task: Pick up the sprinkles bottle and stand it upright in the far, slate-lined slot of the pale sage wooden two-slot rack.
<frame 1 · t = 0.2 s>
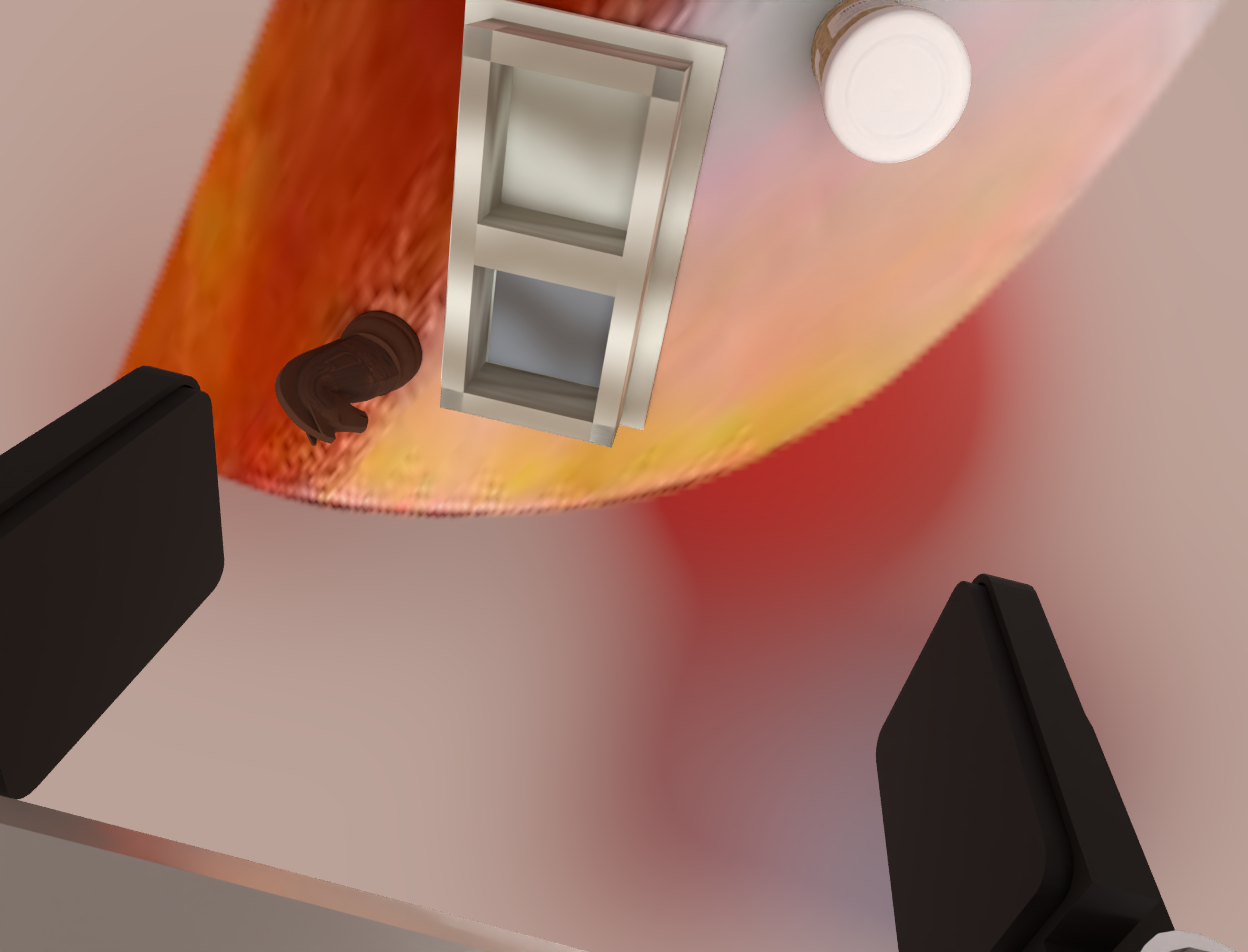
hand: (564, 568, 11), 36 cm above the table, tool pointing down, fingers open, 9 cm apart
sprinkles bottle: (863, 49, 38), on the table
slot rack: (569, 231, 45), on the table
chess piece: (382, 343, 50), on the table
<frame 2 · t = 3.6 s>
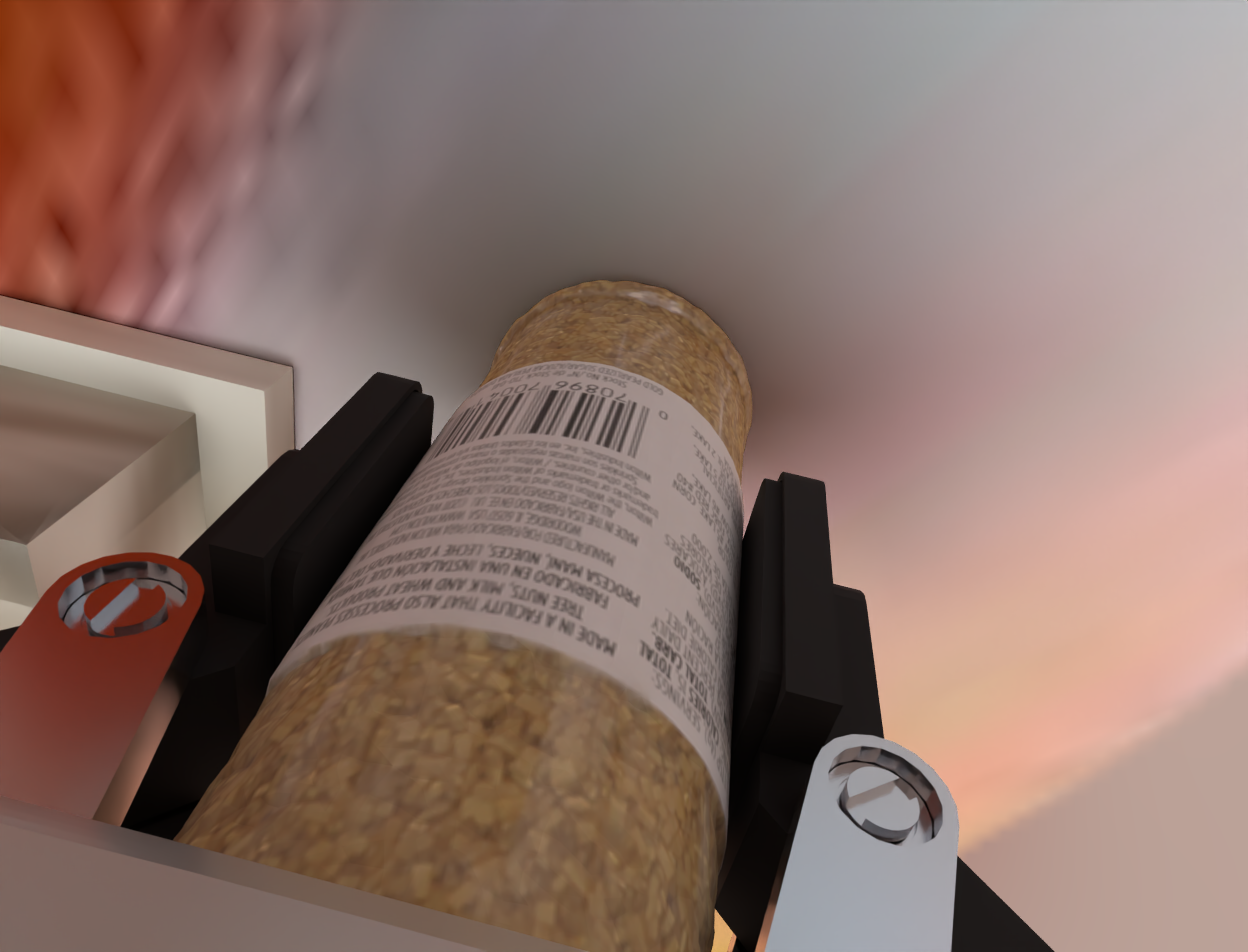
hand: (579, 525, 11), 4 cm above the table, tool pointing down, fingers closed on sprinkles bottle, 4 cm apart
sprinkles bottle: (626, 393, 15), on the table, touching gripper
slot rack: (66, 673, 21), on the table
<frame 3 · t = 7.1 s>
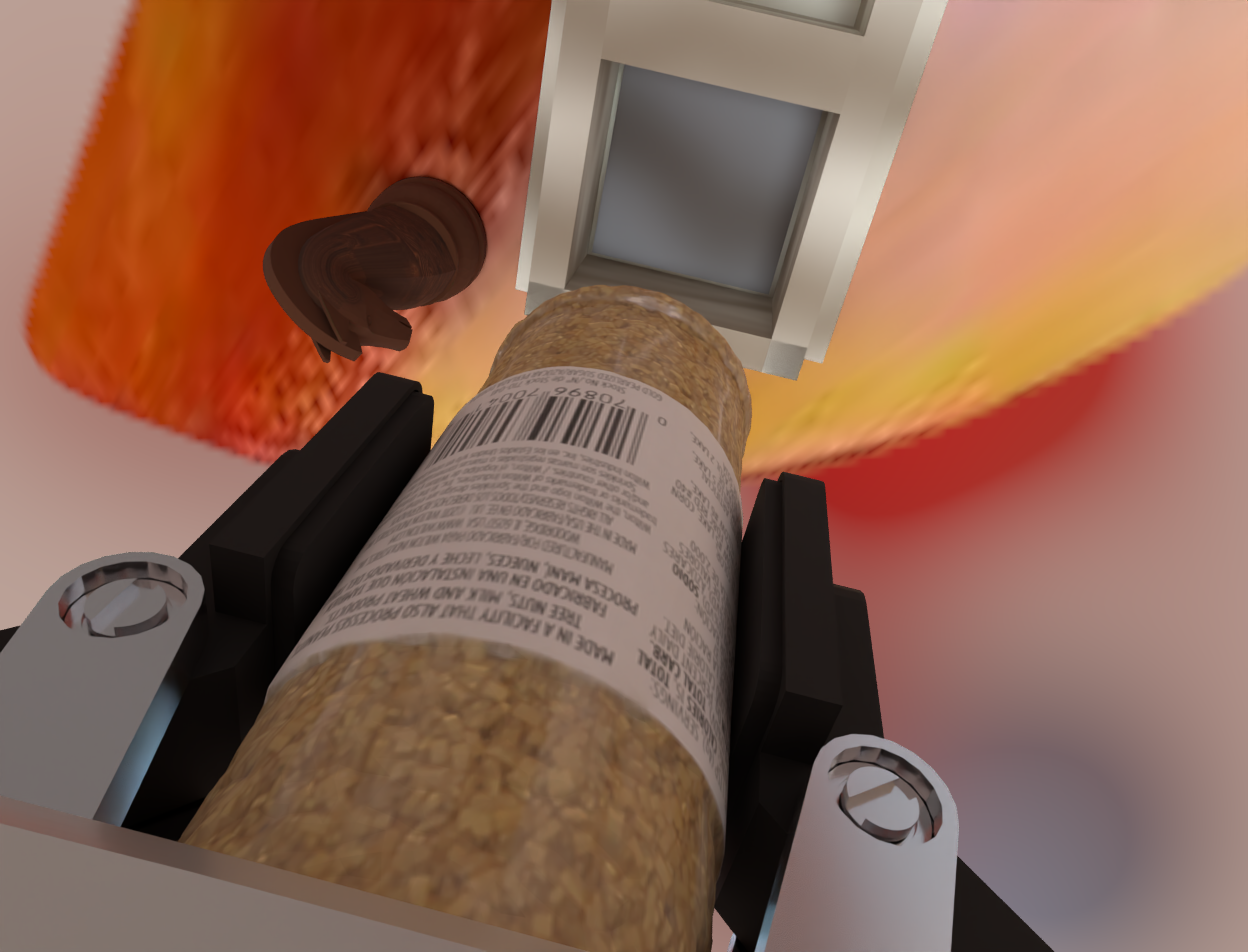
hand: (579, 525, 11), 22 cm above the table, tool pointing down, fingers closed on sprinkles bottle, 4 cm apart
sprinkles bottle: (625, 397, 15), point 18 cm above the table, touching gripper
slot rack: (736, 34, 28), on the table
chess piece: (427, 230, 33), on the table
when the fingers open (7 cm above the table, at t = 10.6 s): sprinkles bottle drops 1 cm, resting on slot rack.
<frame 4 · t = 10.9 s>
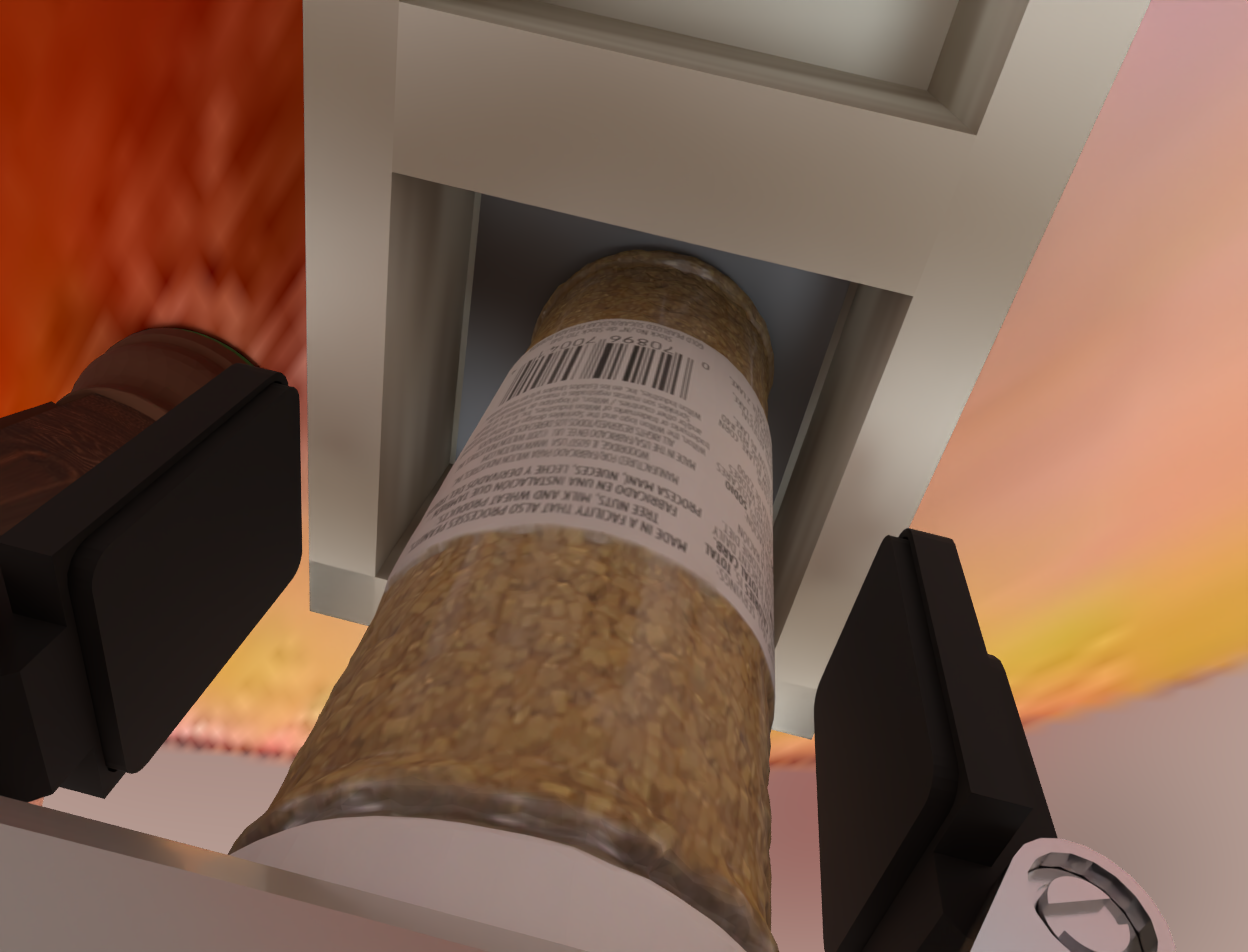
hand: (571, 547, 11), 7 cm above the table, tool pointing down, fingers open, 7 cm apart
sprinkles bottle: (656, 355, 16), point 1 cm above the table, touching slot rack
slot rack: (699, 98, 15), on the table
chess piece: (197, 406, 20), on the table
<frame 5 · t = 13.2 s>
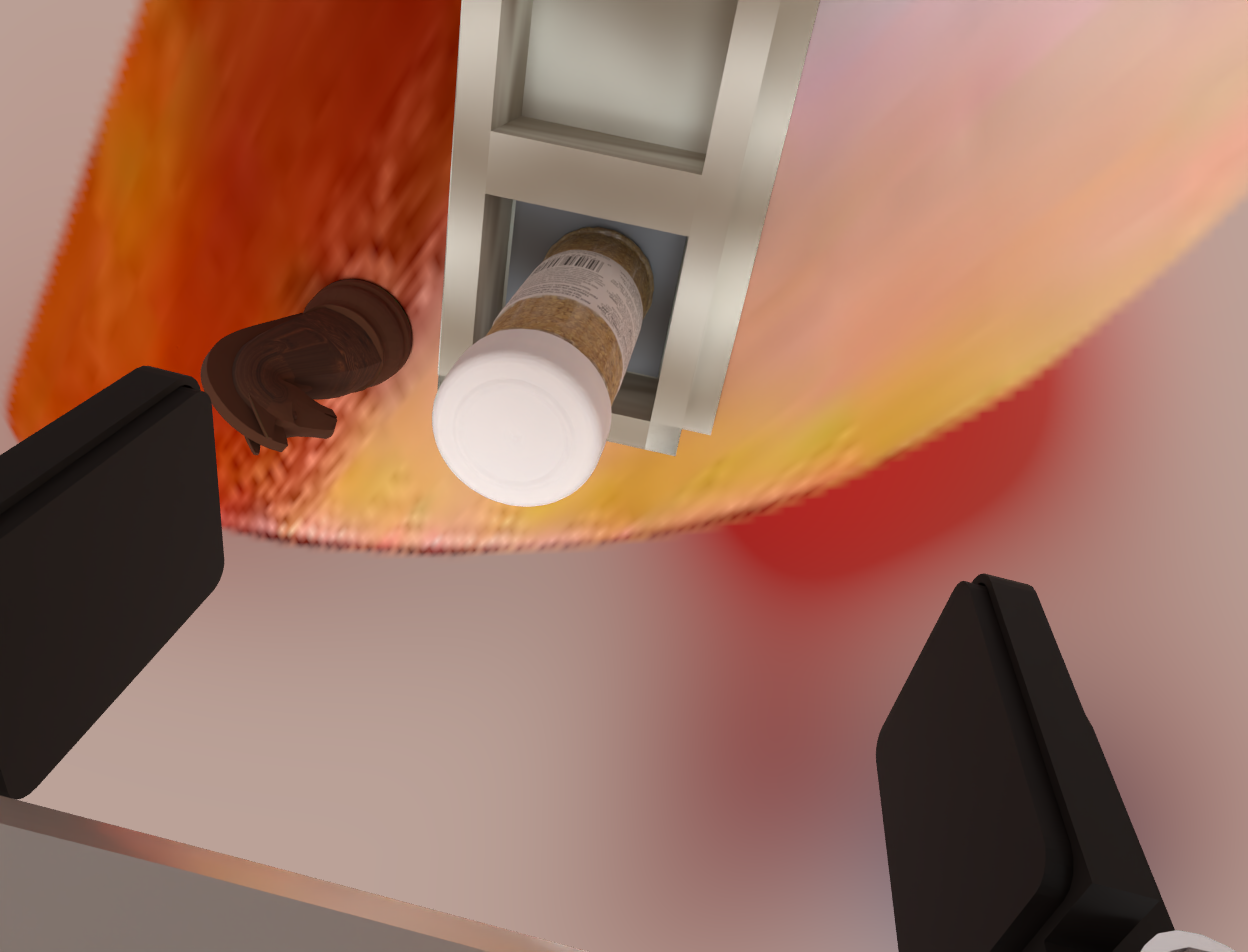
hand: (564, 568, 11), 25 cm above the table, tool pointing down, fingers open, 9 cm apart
sprinkles bottle: (600, 280, 34), point 1 cm above the table, touching slot rack
slot rack: (614, 159, 32), on the table
chess piece: (360, 323, 38), on the table
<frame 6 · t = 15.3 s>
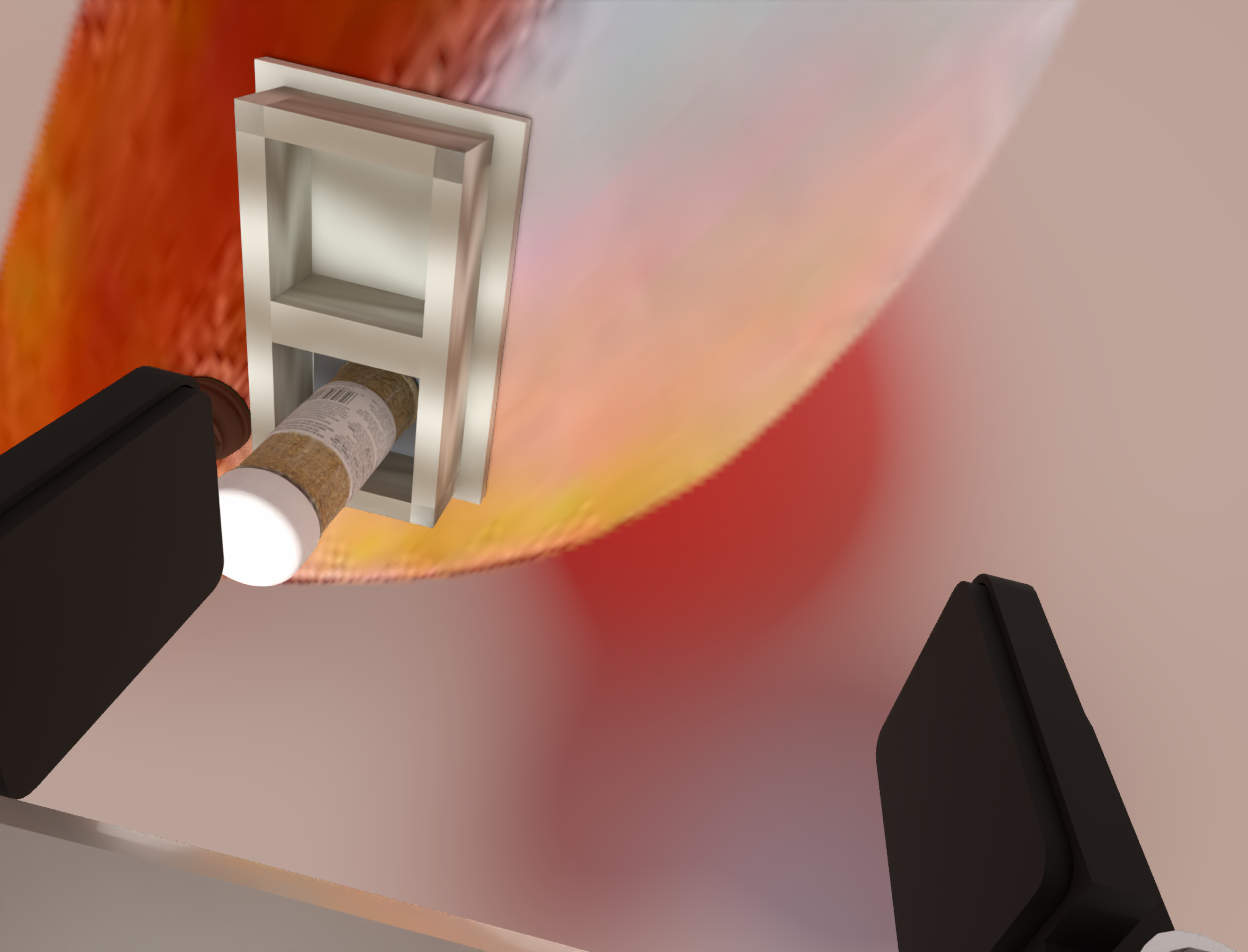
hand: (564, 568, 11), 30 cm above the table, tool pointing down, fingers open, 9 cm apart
sprinkles bottle: (383, 390, 44), point 1 cm above the table, touching slot rack
slot rack: (389, 302, 43), on the table
chess piece: (212, 409, 48), on the table
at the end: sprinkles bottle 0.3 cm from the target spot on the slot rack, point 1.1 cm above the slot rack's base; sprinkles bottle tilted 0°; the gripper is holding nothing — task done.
